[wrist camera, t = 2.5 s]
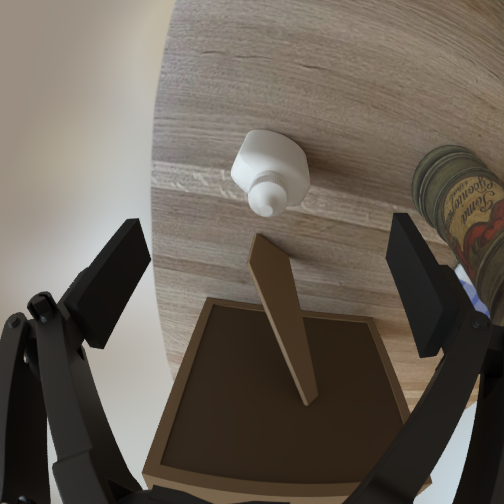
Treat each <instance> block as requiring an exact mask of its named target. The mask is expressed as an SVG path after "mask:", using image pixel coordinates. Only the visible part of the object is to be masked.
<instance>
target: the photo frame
mask: <svg viewBox="0 0 504 504" xmlns="http://www.w3.org/2000/svg"><path fill="white" fill-rule="evenodd" d="M247 267H248V270H249V272H250V275H251V277H252V280H253V282H254V285H255V287H256V290H257V292H258V294H259V297H260V299H261V302H262V304H263V305H256V304H248V303H241V302H234V301H227V300H221V299H214V298H207V299H206V301H205V304H204V306H203V309H202V311H201V314H200V316H199V319H198V321H197V324H196V327H195V329H194V332H193V334H192V337H191V340H190V342H189V345H188V347H187V350H186V353H185V355H184V358H183V361H182V363H181V366H180V368H179V371H178V374H177V376H176V379H175V382H174V384H173V387H172V390H171V393H170V396H169V398H168V401H167V403H166V406H165V409H164V412H163V415H162V417H161V420H160V423H159V425H158V428H157V431H156V434H155V437H154V440H153V443H152V445H151V448H150V451H149V454H148V456H147V459H146V462H145V465H144V468H143V471H142V475H143V478H144V480H145V482H146V484H147V487H148V489H152V487H153V484H154V485H158V486H162V487H166V488H171V489H175V490H180V491H185V492H187V493H189V494H191V495H194V496H196V497H198V498H201V499H203V500H206V501H208V502H211V503H213V504H232V503H241V502H248V501H271V502H290V504H342V503H343V502H344V501H345V500H346V499H347V498H348V497H349V496H350V495H351V494H352V493H353V491H354V490H355V489H356V488H357V487H358V486H359V484H360V483H361V482H362V481H363V480H364V478H365V477H366V476H367V475H368V474H369V472H370V471H371V470H372V469H373V467H374V466H375V465H376V463H377V462H378V461H379V459H380V458H381V457H382V455H383V454H384V453H385V451H386V450H387V449H388V447H389V446H390V444H391V443H392V442H393V440H394V439H395V437H396V436H397V434H398V433H399V431H400V430H401V428H402V427H403V425H404V424H405V422H406V421H407V419H408V418H409V416H410V415H411V414H410V411H409V408H408V405H407V403H406V400H405V397H404V394H403V392H402V389H401V386H400V384H399V381H398V379H397V376H396V373H395V371H394V368H393V366H392V363H391V361H390V358H389V356H388V353H387V351H386V348H385V346H384V344H383V341H382V339H381V336H380V334H379V332H378V329H377V327H376V325H375V323H374V320H373V318H372V317H362V316H351V315H341V314H331V313H321V312H312V311H303V310H301V309H300V305H299V300H298V296H297V291H296V287H295V283H294V278H293V274H292V269H291V265H290V261H289V257H288V255H287V254H285V253H284V252H283V251H281V250H280V249H278V248H277V247H276V246H274V245H273V244H271V243H270V242H269V241H267V240H266V239H264V238H263V237H262V236H260V235H259V234H257V233H256V234H255V235H254V238H253V242H252V246H251V250H250V254H249V257H248V261H247ZM431 484H432V480H431V477H430V475H429V477H428V479H427V480H426V482H425V483H424V485H423V486H422V488H421V489H420V491H419V492H418V494H417V495H419V494H420V493H421V492H422V491H424V490H425V489H426V488H427V487H428V486H429V485H431ZM417 495H416V496H417Z"/></svg>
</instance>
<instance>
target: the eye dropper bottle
mask: <svg viewBox="0 0 504 504" xmlns="http://www.w3.org/2000/svg"><path fill="white" fill-rule="evenodd" d="M231 176H232V178H233V180H234V181H235V182H236V183H237V184H238V186H239V187H241V188H242V189H243V190H244V191H245V192H247V193H248V202H249V205H250V207H251V209H252V210H253V211H254V212H255V213H257V214H258V215H260V216H264V217H273V216H277V215H278V214H280V213H282V212H283V211H284V209H285V208H286V206H295V205H299V204H300V203H301V202H302V201H303V199H304V197H305V196H306V194H307V192H308V190H309V188H310V176H309V170H308V165H307V159H306V155H305V153H304V151H303V150H302V149H301V148H300V147H299V146H298V145H297V144H296V143H295V142H294V141H292V140H291V139H289V138H288V137H286V136H284V135H282V134H279V133H276V132H273V131H269V130H260V129H255V130H251V131H249V133H248V134H247V136H246V138H245V140H244V142H243V144H242V146H241V148H240V150H239V152H238V154H237V157H236V159H235V161H234V164H233V166H232V169H231Z"/></svg>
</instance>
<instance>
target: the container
mask: <svg viewBox="0 0 504 504" xmlns="http://www.w3.org/2000/svg"><path fill="white" fill-rule="evenodd" d="M412 196H413V201H414V204H415V207H416V209H417V210H418V212H419V213H420V215H421V216H422V217H423V218H424V219H425V220H426V222H427V223H428V224H429V225H430V226H432V227H433V228H435V229H436V230H437V232H438V234H439V236H440V237H441V238H442V239H443V240H444V241H445V242H446V243H447V244H448V245H449V247H450V248H451V250H452V251H453V253H454V254H455V256H456V258H457V259H458V261H459V262H460V264H461V266H462V267H463V269H464V271H465V272H466V274H467V276H468V278H469V279H470V281H471V283H472V284H473V286H474V288H475V290H476V293H477V296H478V298H479V300H480V301H481V302H482V303H483V304H485V305H486V307H487V309H488V311H489V317H490V320H491V322H492V324H494V325H499V326H504V184H503V183H502V182H500V180H499V179H498V177H497V176H496V175H495V174H494V173H492V172H491V171H489V170H488V169H487V167H486V165H485V164H484V163H483V162H482V161H481V160H480V159H479V158H478V157H477V156H476V155H475V154H474V153H473V152H471V151H470V150H468V149H466V148H464V147H460V146H455V145H447V146H442V147H439V148H437V149H435V150H433V151H431V152H430V153H429V154H427V155H426V156H425V157H424V158H423V160H422V161H421V162H420V164H419V165H418V167H417V169H416V171H415V174H414V177H413V182H412Z"/></svg>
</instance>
